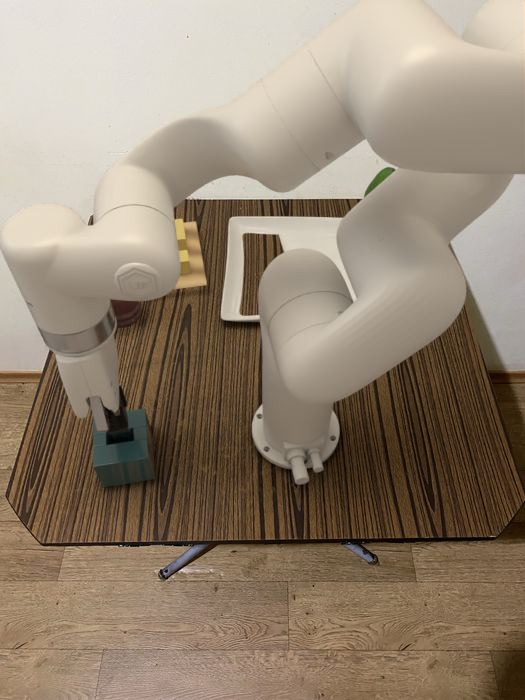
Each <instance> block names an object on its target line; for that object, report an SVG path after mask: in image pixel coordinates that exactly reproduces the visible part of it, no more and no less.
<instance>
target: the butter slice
mask: <svg viewBox="0 0 525 700" xmlns="http://www.w3.org/2000/svg"><path fill="white" fill-rule="evenodd" d="M179 255H180V264H181V270H180V275H182V274H190V273H191V271H190V264H189V257H188V250H182V251H179Z"/></svg>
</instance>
